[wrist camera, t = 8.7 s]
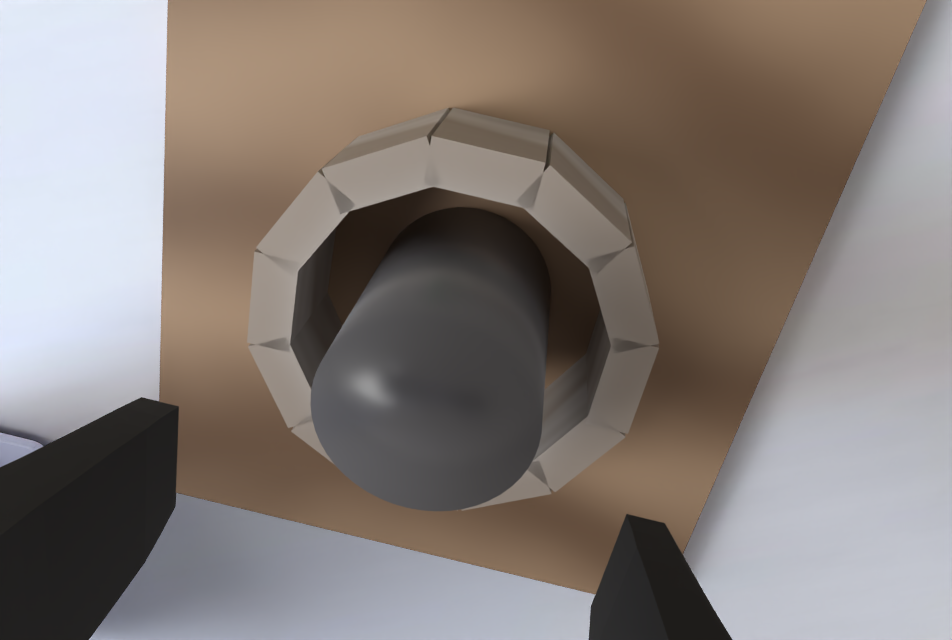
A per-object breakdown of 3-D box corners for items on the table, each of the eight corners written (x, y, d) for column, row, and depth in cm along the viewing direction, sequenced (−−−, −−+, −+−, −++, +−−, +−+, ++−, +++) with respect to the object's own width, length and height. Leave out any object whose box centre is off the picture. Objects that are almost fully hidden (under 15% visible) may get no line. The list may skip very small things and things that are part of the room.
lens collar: (655, 585, 25) (668, 693, 21) (172, 468, 25) (105, 556, 21) (911, -12, 17) (1004, -1, 13) (193, -179, 17) (90, -213, 13)
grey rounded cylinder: (529, 380, 21) (513, 532, 15) (370, 343, 21) (300, 483, 15) (569, 229, 19) (568, 344, 13) (394, 189, 19) (322, 288, 13)
